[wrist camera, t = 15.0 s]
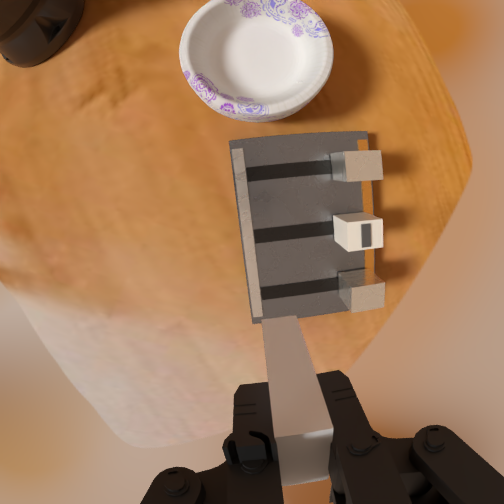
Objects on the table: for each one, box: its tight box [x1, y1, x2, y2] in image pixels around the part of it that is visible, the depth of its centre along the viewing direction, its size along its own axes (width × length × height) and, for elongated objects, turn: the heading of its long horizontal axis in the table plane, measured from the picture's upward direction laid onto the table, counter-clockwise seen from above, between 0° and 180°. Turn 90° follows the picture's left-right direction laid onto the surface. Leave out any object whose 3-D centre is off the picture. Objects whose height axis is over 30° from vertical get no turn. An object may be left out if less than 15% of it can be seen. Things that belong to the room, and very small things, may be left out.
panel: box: [229, 131, 385, 324], centre depth 33 cm, size 16×22×7 cm
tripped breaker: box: [333, 212, 383, 252], centre depth 32 cm, size 4×3×5 cm
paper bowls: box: [179, 0, 334, 123], centre depth 28 cm, size 15×15×8 cm
